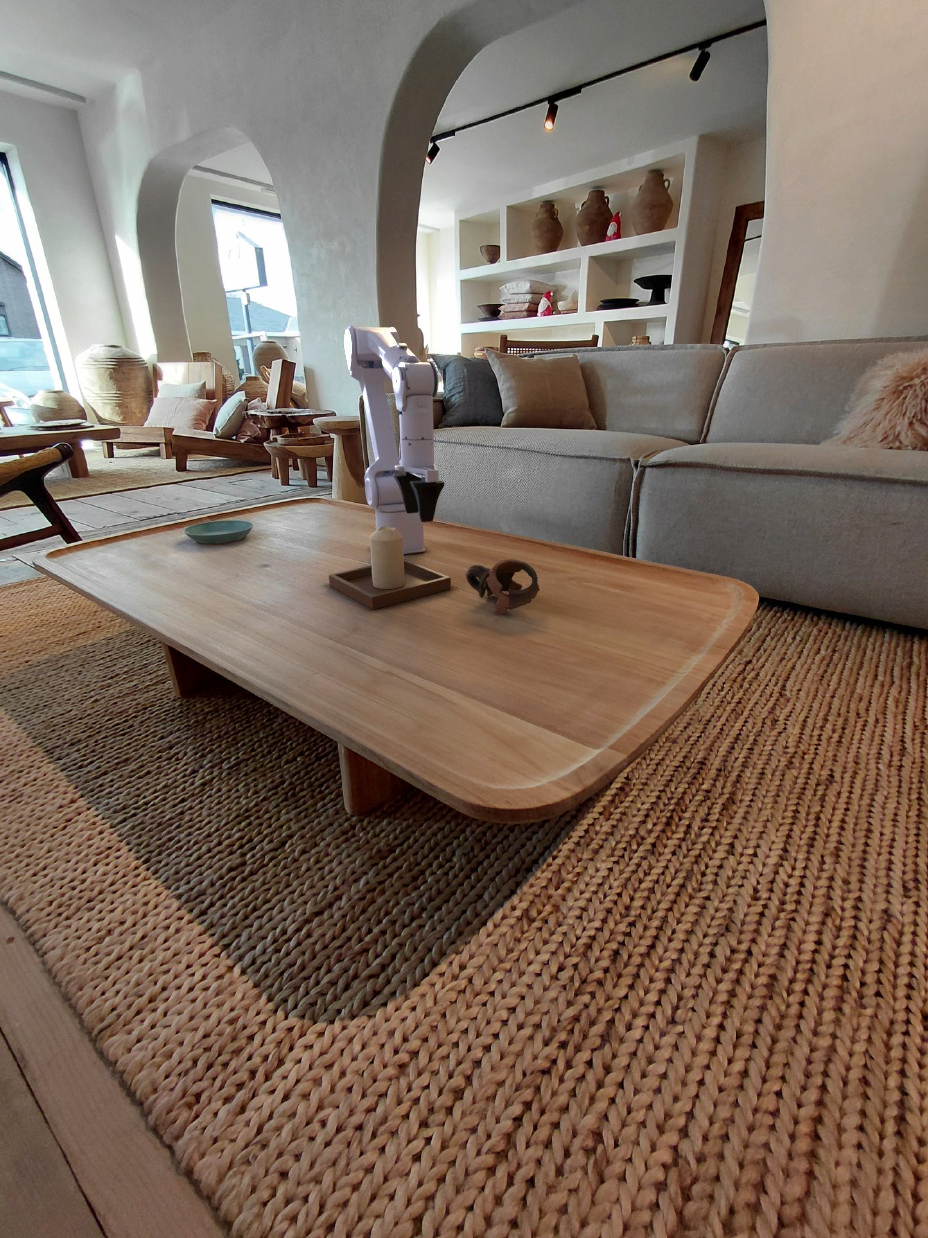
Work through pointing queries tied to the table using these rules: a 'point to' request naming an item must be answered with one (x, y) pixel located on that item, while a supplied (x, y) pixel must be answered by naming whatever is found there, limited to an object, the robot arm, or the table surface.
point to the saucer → (219, 531)
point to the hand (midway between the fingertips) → (419, 516)
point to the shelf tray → (363, 590)
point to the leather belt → (503, 583)
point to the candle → (387, 558)
